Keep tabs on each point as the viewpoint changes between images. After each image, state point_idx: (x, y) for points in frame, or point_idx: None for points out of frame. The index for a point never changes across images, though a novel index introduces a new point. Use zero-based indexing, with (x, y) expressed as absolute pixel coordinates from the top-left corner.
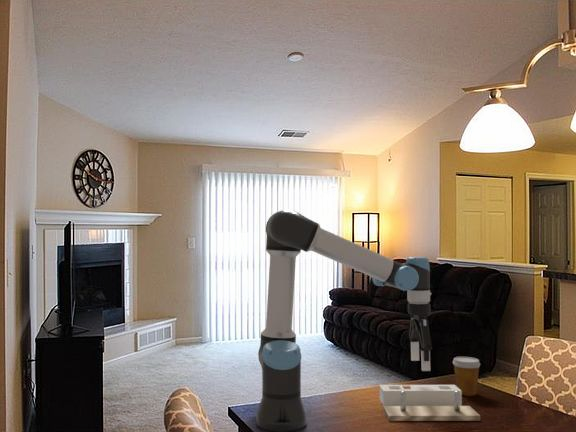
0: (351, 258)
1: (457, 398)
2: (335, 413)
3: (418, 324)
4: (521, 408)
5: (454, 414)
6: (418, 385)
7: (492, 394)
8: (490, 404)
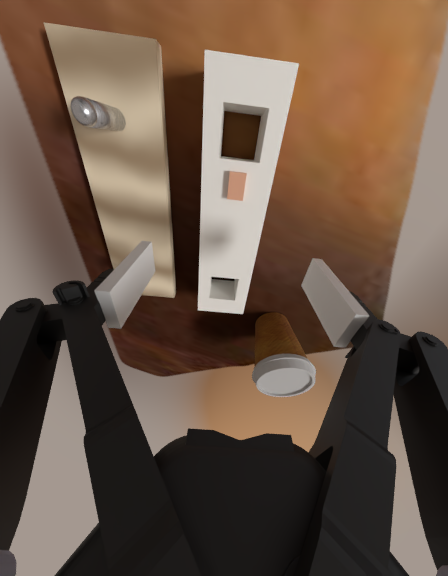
0: None
1: None
2: None
3: (90, 567)
4: (188, 352)
5: (115, 252)
6: (253, 234)
7: (254, 349)
8: (207, 329)
